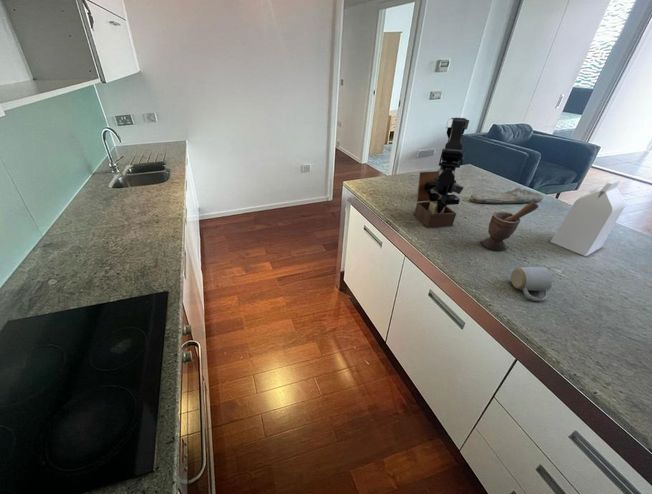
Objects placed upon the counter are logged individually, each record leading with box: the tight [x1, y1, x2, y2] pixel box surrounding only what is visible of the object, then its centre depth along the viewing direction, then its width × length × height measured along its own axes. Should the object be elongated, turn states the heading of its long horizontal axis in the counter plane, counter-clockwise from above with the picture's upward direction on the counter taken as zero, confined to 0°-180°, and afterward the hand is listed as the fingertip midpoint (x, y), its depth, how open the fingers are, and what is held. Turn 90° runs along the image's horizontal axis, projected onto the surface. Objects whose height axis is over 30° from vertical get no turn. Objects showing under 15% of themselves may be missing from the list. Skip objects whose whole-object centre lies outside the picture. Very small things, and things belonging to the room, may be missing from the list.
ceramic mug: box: [510, 266, 553, 302], centre depth 92 cm, size 11×8×8 cm
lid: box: [416, 170, 441, 203], centre depth 134 cm, size 13×11×1 cm
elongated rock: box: [469, 187, 544, 204], centre depth 149 cm, size 35×5×10 cm
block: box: [428, 201, 445, 214], centre depth 131 cm, size 5×5×5 cm
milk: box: [550, 179, 627, 257], centre depth 108 cm, size 12×12×26 cm
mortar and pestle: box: [482, 202, 539, 252], centre depth 110 cm, size 12×9×20 cm
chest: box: [413, 201, 457, 229], centre depth 133 cm, size 13×11×6 cm
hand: (435, 210), depth 132 cm, fingers closed on block, 4 cm apart
